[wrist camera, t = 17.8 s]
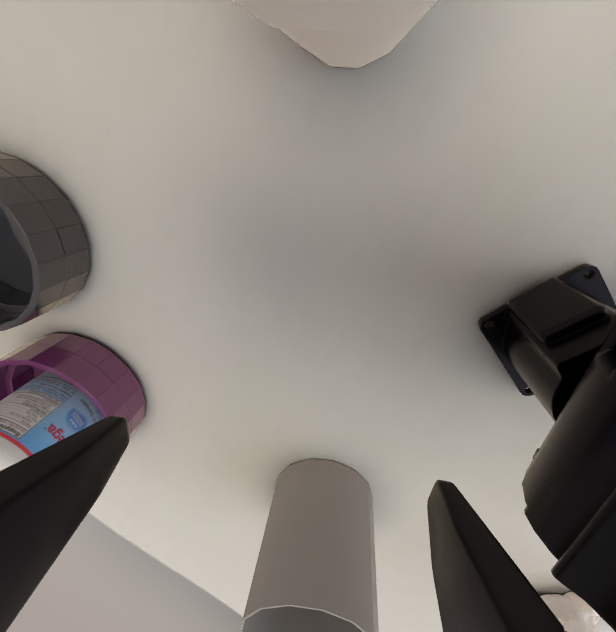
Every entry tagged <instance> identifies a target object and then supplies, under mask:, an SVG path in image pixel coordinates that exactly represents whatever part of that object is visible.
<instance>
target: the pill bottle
mask: <svg viewBox="0 0 616 632" xmlns="http://www.w3.org/2000/svg"><path fill="white" fill-rule="evenodd" d="M102 419H104V417H103V416H102V414H101V413H100V412H99V410H98V409H97V407H96V406H95V405H94V403H93V402H92V401H91V400H90V399H89V398H88V397H87V396H86V395H85V394H83V393H82V392H81V391H80V390H79V389H78V388H77V387H76V386H74V385H73V384H71V383H69V382H68V381H66V380H64V379H63V378H61V377H59V376H57V375H56V374H54V373H52V372H49V371H45V372H43V373H42V374H40V375H39V376H37V377H36V378H34V379H33V380H31V381H29V382H28V383H26V384H25V385H23V386H22V387H21V388H19V389H17V390H16V391H14V392H13V393H11V394H10V395H9V396H7V397H6V398H4V399H3V400H1V401H0V471H1V470H3V469H5V468H7V467H9V466H11V465H13V464H15V463H17V462H19V461H21V460H23V459H25V458H27V457H29V456H31V455H33V454H35V453H37V452H39V451H41V450H43V449H45V448H47V447H49V446H51V445H53V444H55V443H56V442H58V441H60V440H62V439H64V438H66V437H68V436H70V435H72V434H74V433H76V432H78V431H80V430H82V429H84V428H86V427H88V426H90V425H92V424H94V423H96V422H98V421H100V420H102Z"/></svg>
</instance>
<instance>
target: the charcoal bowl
mask: <svg viewBox="0 0 616 632" xmlns="http://www.w3.org/2000/svg"><path fill="white" fill-rule="evenodd" d="M80 223H81V222H80V220H79V218H78V217H77V215H76V213H75V212H74V210H73V208H72V207H71V205H70V203H69V202H68V200H67V199H66V198H65V196H64V195H63V194H62V193H61V192H60V191H59V190H58V189H57V188H56V187H55V186H54V185H53V184H52V183H51V182H50V181H49V180H48V178H47V177H45V176H44V175H43V174H41V173H40V172H38V171H37V170H35V169H34V168H32V167H31V166H29V165H28V164H26V163H25V162H23V161H22V160H20V159H18V158H15V157H12V156H8V155H5V154H2V153H0V331H4V330H7V329H10V328H13V327H15V326H18V325H21V324H23V323H25V322H27V321H29V320H31V319H33V318H36V317H38V316H40V315H42V314H44V313H46V312H48V311H50V310H52V309H54V308H56V307H58V306H60V305H62V304H64V303H66V302H68V301H70V300H71V299H72V298H73V297H74V296H75V295H76V294H77V293H78V292H79V291H80V290H81V289H82V288H83V286H84V283H85V280H86V278H87V275H88V272H89V249H88V244H87V241H86V238H85V234H84V231H83V228H82V225H81V224H80Z"/></svg>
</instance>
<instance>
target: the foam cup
mask: <svg viewBox="0 0 616 632" xmlns="http://www.w3.org/2000/svg"><path fill="white" fill-rule="evenodd" d="M232 1H233V2H235V3H236V4H238V5H239V6H241V7H242V8H244V9H245V10H246V11H248V12H249V13H251V14H252V15H254V16H255V17H257V18H258V19H260V20H261V21H263V22H264V23H265V24H267V25H268V26H270V27H272V28H278V29H279V30H281V31H282V32H283V33H285V34H286V35H287V36H288V37H290V38H291V39H292V40H293V41H295V42H296V43H297V44H298V45H300V46H301V47H302V48H304V49H305V50H307V51H308V52H310V53H311V54H313V55H314V56H315V57H317V58H318V59H320V60H321V61H323V62H324V63H326V64H327V65H329V66H332V67H349V68H361V67H363V66H365V65H367V64H369V63H371V62H373V61H375V60H377V59H379V58H381V57H383V56H385V55H387V54H389V52H391V51H392V50H393V49H394V48H395V47H396V46H397V45H398V43H399V42H400V41H401V40H402V39H403V38H404V37H405V36H406V35H407V34H408V33H409V32H410V30H411V29H412V28H413V27H414V26H415V25H416V24H417V23H418V22H419V21H420V20H421V19H422V18H423V16H424V15H425V14H426V13H427V12H428V11H429V10H430V9H431V8H432V7H433V6H434V5H435V4H436V2H437V1H438V0H232Z"/></svg>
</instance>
